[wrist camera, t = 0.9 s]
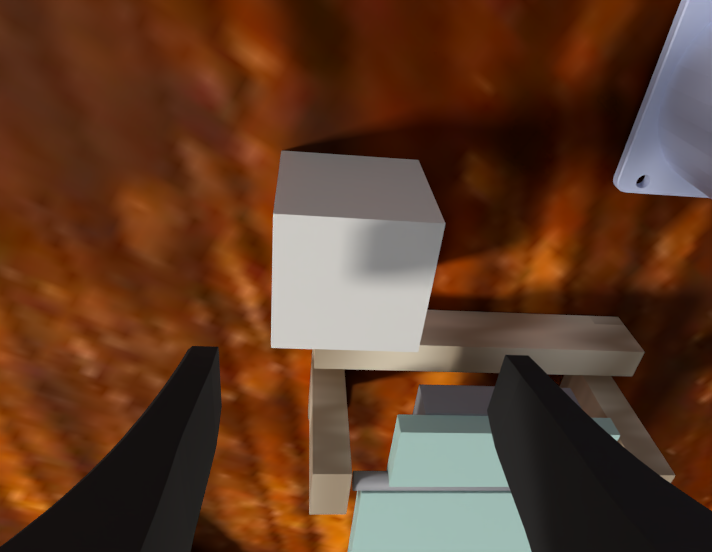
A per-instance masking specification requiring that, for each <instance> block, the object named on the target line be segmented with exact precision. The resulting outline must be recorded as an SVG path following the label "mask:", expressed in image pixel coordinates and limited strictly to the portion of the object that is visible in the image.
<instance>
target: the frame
mask: <svg viewBox="0 0 712 552" xmlns="http://www.w3.org/2000/svg"><path fill="white" fill-rule="evenodd" d="M644 353H645V352H644V350H643V349H642V348H641V346H640V345H639V344H638V342H637V341H636V340H635V338H634V337H633V336H632V335H631V333H630V332H629V331H628V329H627V328H626V327H625V325H624V324H623V323H622V321H621V320H620V319H619V317H608V316H582V315H555V314H528V313H502V312H475V311H449V310H427V313H426V318H425V322H424V327H423V332H422V336H421V341H420V346H419V351H418V352H392V351H360V350H327V349H312V362H311V376H310V391H309V405H308V419H310V440H309V514H346V512H347V505H348V498H349V491H350V485H351V478H352V467H351V453H350V439H349V425H348V412H347V398H346V384H345V370H344V369H354V370H394V371H434V372H475V373H499V372H500V369H501V366H502V363H503V360H504V357H505V355H528V356H529V357H530V358H531V359H532V360H533V361H534V362H536V363H537V364H538V365H539V366H540V367H541V368H542V369H543V370H544V372H545V373H546V374H555V375H564V377H563V379H562V382H561V384H560V386H559V387H560V388H571V390H572V392H573V393H574V395H575V397H576V399H577V401H578V403H579V404H580V406H581V408H582V410H584V411H585V412H586V413H587V414H588V415H589V416H590V417H591V418H611V420H612V422H613V423H614V425H615V427H616V428H617V430H618V432H619V433H620V437H619V439H618V442H619V443H620V444H621V445H622V446H623V447H624V448H626V449H627V450H628V451H629V452H630V453H632V454H633V455H634V456H635V457H637V458H638V459H639V460H640V461H642V462H643V463H644V464H646V465H647V466H648V467H649V468H651V469H652V470H653V471H655V472H656V473H657V474H659V475H660V476H661V477H663V478H664V479H665V480H667V481H668V482H669V483H671V481H672V480H673V478H674V477H675V474H674V472H673V471H672V469H671V468H670V466H669V465H668V463H667V462H666V460H665V459H664V457H663V455H662V454H661V452H660V451H659V449H658V448H657V446H656V445H655V443H654V442H653V440H652V438H651V437H650V435H649V434H648V432H647V431H646V429H645V428H644V426H643V425H642V423H641V421H640V420H639V418H638V417H637V415H636V414H635V412H634V411H633V409H632V408H631V406H630V404H629V403H628V401H627V400H626V398H625V397H624V395H623V394H622V392H621V391H620V389H619V387H618V386H617V384H616V383H615V381H614V380H613V378H612V377H611V376H633V374H634V372H635V370H636V368H637V366H638V364H639V362H640V360H641V358H642V357H643V355H644Z"/></svg>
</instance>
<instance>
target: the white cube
mask: <svg viewBox="0 0 712 552" xmlns="http://www.w3.org/2000/svg"><path fill="white" fill-rule="evenodd" d="M445 224H446V223H445V221H444V219H443V216H442V214H441V212H440V209H439V207H438V205H437V202H436V200H435V198H434V195H433V193H432V191H431V188H430V186H429V184H428V181H427V179H426V176H425V174H424V172H423V169H422V167H421V165H420V162H419V160H412V159H397V158H383V157H368V156H354V155H339V154H325V153H310V152H296V151H281V158H280V166H279V173H278V181H277V189H276V196H275V204H274V211H273V256H272V318H271V348H294V349H327V350H360V351H392V352H418V351H419V346H420V341H421V336H422V332H423V327H424V322H425V318H426V313H427V308H428V304H429V299H430V294H431V290H432V285H433V280H434V275H435V271H436V266H437V261H438V257H439V252H440V247H441V243H442V238H443V233H444V229H445Z"/></svg>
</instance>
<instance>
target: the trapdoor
mask: <svg viewBox="0 0 712 552" xmlns="http://www.w3.org/2000/svg"><path fill="white" fill-rule="evenodd" d="M494 388H495V386H457V385H419V388H418V393H417V397H416V402H415V406H414V411H413V415H397V420H396V425H395V430H394V435H393V440H392V445H391V450H390V455H389V460H388V465H387V471H353V475H352V487H353V491H357V496H356V503H355V509H354V515H353V521H352V528H351V534H350V540H349V546H348V552H531V548H530V545H529V542H528V539H527V536H526V532H525V529H524V527H523V524H522V521H521V518H520V516H519V513H518V510H517V507H516V505H515V502H514V499H513V497H512V494H511V491H510V488H509V486H508V483H507V480H506V477H505V475H504V472H503V469H502V466H501V463H500V461H499V458H498V455H497V452H496V449H495V446H494V441H493V437H492V433H491V428H490V423H489V418H488V414H487V409H488V406H489V403H490V400H491V397H492V394H493V391H494ZM561 389H562V390H563V391H564V392H565V393H566V394H567V395H568V396H569V397H570V398H571V399H572V400H573V401H574V402H575V403H576V404H577V405H578V406H579V407H580V408H581V406H580V404H579V403H578V401H577V399H576V397H575V395H574V393H573V392H572V390H571V388H561ZM581 409H582V408H581ZM592 419H593V420H594V421H595V422H596V423H597V424H598V425H599V426H601V427H602V428H603V429H604V430H605V431H606V432H607V433H608V434H610V435H611V436H612V437H613V438H614V439H615V440H616V441H618V439H619V437H620V433H619V432H618V430H617V428H616V427H615V425H614V423H613V422H612V420H611V418H592Z"/></svg>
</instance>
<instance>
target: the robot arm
mask: <svg viewBox="0 0 712 552" xmlns="http://www.w3.org/2000/svg"><path fill="white" fill-rule="evenodd" d="M643 175H645V178H644V179H643V181H642V182H640V183H638V184H636V182H637V180H638V178H639V177H641V176H643ZM613 183H614V185H615V186H616V187H617V188H618V189H619V190H620V191H622V192H626V193H641V194H657V195H672V196H688V197H703V198H711V199H712V0H681V2H680V5H679V7H678V10H677V13H676V15H675V18H674V20H673V23H672V26H671V28H670V31H669V33H668V36H667V39H666V41H665V44H664V47H663V49H662V52H661V54H660V57H659V60H658V62H657V65H656V67H655V70H654V73H653V75H652V78H651V81H650V83H649V86H648V88H647V91H646V94H645V96H644V99H643V101H642V104H641V107H640V109H639V112H638V115H637V117H636V120H635V122H634V125H633V128H632V130H631V133H630V135H629V138H628V141H627V143H626V146H625V149H624V151H623V154H622V156H621V159H620V162H619V164H618V167H617V169H616V172H615V175H614V179H613ZM221 407H222V406H221V387H220V369H219V350H218V347H204V346H192V347H191V348H190V349H188V351H187V352H186V354H185V356H184V357H183V359H182V361H181V362H180V364H179V365H178V367H177V368H176V370H175V371H174V373H173V374H172V376H171V377H170V379H169V380H168V381H167V383H166V384H165V386H164V387H163V388H162V390H161V391H160V392H159V394H158V395H157V396H156V398H155V399H154V400H153V402H152V403H151V404H150V406H149V407H148V408H147V409H146V411H145V412H144V413H143V414H142V416H141V417H140V418H139V419H138V420H137V422H136V423H135V424H134V425H133V426H132V427H131V429H130V430H129V431H128V432H127V433H126V434H125V436H124V437H123V438H122V439H121V440H120V441H119V442H118V443H117V445H116V446H115V447H114V448H113V449H112V450H111V451H110V452H109V453H108V454H107V455H106V456H105V457H104V458H103V459H102V460H101V461H100V462H99V463H98V464H97V465H96V466H95V467H94V468H93V469H92V470H91V471H90V472H89V473H88V474H87V475H86V476H85V477H84V478H83V479H82V480H81V481H80V482H78V483H77V484H76V485H75V486H74V487H73V488H72V489H71V490H70V491H69V492H68V493H66V494H65V495H64V496H63V497H62V498H61V499H60V500H58V501H57V502H56V503H55V504H54V505H53V506H52V507H50V508H49V509H48V510H47V511H46V512H44V513H43V514H42V515H40V516H39V517H38V518H37V519H35V520H34V521H33V522H32V523H30V524H29V525H28V526H27V527H25V528H24V529H23V530H21V531H20V532H19V533H18V534H16V535H15V536H14V537H13V538H11V539H10V540H9V541H7V542H6V543H5V544H3V545H2V546H1V547H0V552H191V548H192V543H193V538H194V533H195V529H196V525H197V521H198V517H199V513H200V509H201V505H202V501H203V497H204V494H205V490H206V486H207V482H208V478H209V474H210V470H211V466H212V461H213V457H214V453H215V449H216V445H217V437H218V430H219V423H220V415H221ZM487 414H488V418H489V423H490V428H491V433H492V437H493V441H494V446H495V449H496V452H497V455H498V458H499V461H500V463H501V466H502V469H503V472H504V475H505V477H506V480H507V483H508V486H509V488H510V491H511V494H512V497H513V499H514V502H515V505H516V507H517V510H518V513H519V516H520V518H521V521H522V524H523V527H524V529H525V532H526V536H527V539H528V542H529V545H530V548H531V552H712V511H711V510H709V509H708V508H706V507H705V506H703V505H702V504H700V503H699V502H697V501H696V500H694V499H693V498H691V497H690V496H688V495H687V494H685V493H684V492H682V491H681V490H679V489H678V488H676V487H675V486H674V485H672V484H671V483H669V482H668V481H667V480H665V479H664V478H663V477H661V476H660V475H659V474H657V473H656V472H655V471H653V470H652V469H651V468H649V467H648V466H647V465H646V464H644V463H643V462H642V461H640V460H639V459H638V458H637V457H635V456H634V455H633V454H632V453H630V452H629V451H628V450H627V449H626V448H624V447H623V446H622V445H621V444H620V443H619V442H618V441H616V440H615V439H614V438H613V437H612V436H611V435H610V434H608V433H607V432H606V431H605V430H604V429H603V428H602V427H601V426H599V425H598V424H597V423H596V422H595V421H594V420H593V419H592V418H591V417H590V416H589V415H588V414H587V413H586V412H585V411H584V410H582V409H581V408H580V407H579V406H578V405H577V404H576V403H575V402H574V401H573V400H572V399H571V398H570V397H569V396H568V395H567V394H566V393H565V392H564V391H563V390H562V389H561V388H560V387H559V386H558V385H557V384H556V383H555V382H554V381H553V380H552V379H551V378H550V377H549V376H548V375H547V374H546V373H545V372H544V370H543V369H542V368H541V367H540V366H539V365H538V364H537V363H536V362H534V361H533V360H532V359H531V358H530V357H529V356H528V355H505V357H504V360H503V363H502V366H501V369H500V372H499V375H498V378H497V381H496V385H495V388H494V391H493V394H492V397H491V400H490V403H489V406H488V409H487Z"/></svg>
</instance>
